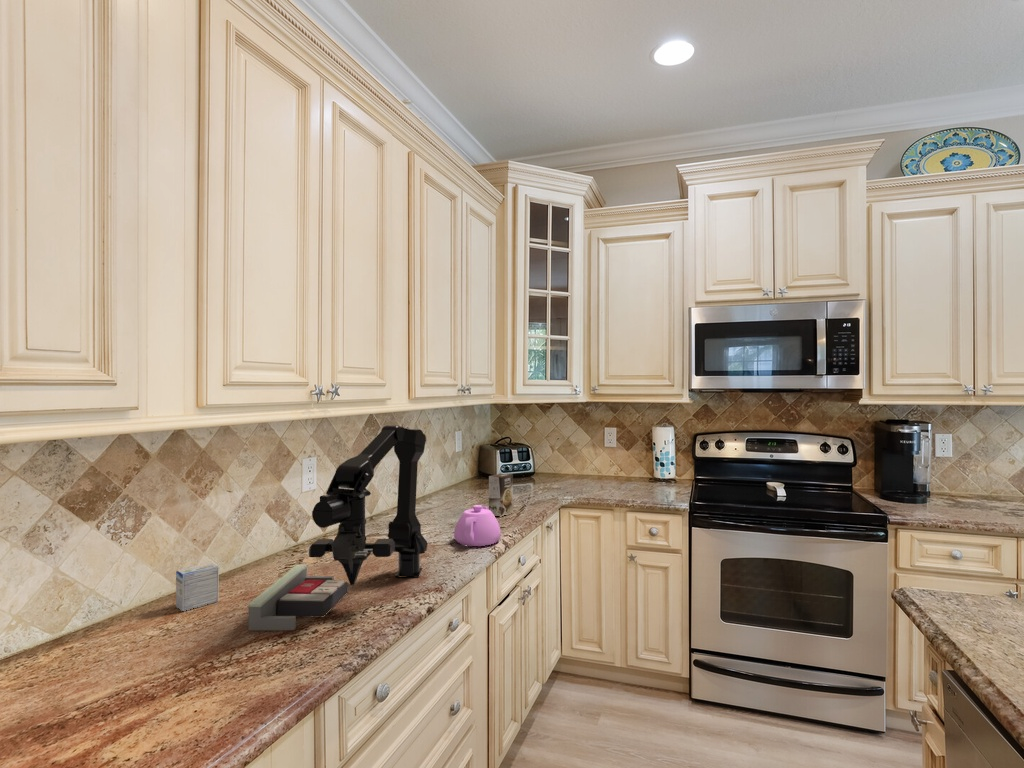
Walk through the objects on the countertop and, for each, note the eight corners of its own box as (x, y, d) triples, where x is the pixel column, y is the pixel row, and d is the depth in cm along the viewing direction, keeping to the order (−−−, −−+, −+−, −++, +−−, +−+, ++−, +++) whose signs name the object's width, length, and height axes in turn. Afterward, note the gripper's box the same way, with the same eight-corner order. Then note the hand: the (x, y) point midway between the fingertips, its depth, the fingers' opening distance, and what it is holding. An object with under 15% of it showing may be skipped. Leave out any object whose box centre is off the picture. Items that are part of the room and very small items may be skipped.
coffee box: (501, 517, 215) (501, 477, 215) (488, 516, 219) (488, 475, 219) (513, 513, 223) (513, 473, 223) (500, 511, 226) (500, 472, 227)
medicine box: (211, 597, 133) (211, 562, 133) (219, 602, 130) (219, 565, 130) (175, 607, 127) (175, 570, 127) (182, 612, 124) (182, 574, 124)
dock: (296, 586, 141) (296, 564, 141) (333, 585, 141) (333, 564, 141) (248, 630, 115) (248, 604, 115) (293, 630, 115) (293, 603, 115)
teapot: (492, 552, 170) (491, 513, 170) (444, 549, 173) (444, 511, 173) (507, 534, 191) (507, 499, 191) (465, 532, 194) (465, 498, 194)
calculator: (348, 578, 137) (324, 598, 122) (348, 596, 136) (324, 618, 121) (305, 578, 137) (276, 597, 122) (305, 595, 137) (275, 617, 122)
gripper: (299, 526, 120) (299, 597, 120) (384, 526, 120) (384, 597, 120) (317, 514, 131) (317, 580, 131) (395, 514, 131) (395, 579, 131)
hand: (352, 584), depth 128 cm, fingers closed
